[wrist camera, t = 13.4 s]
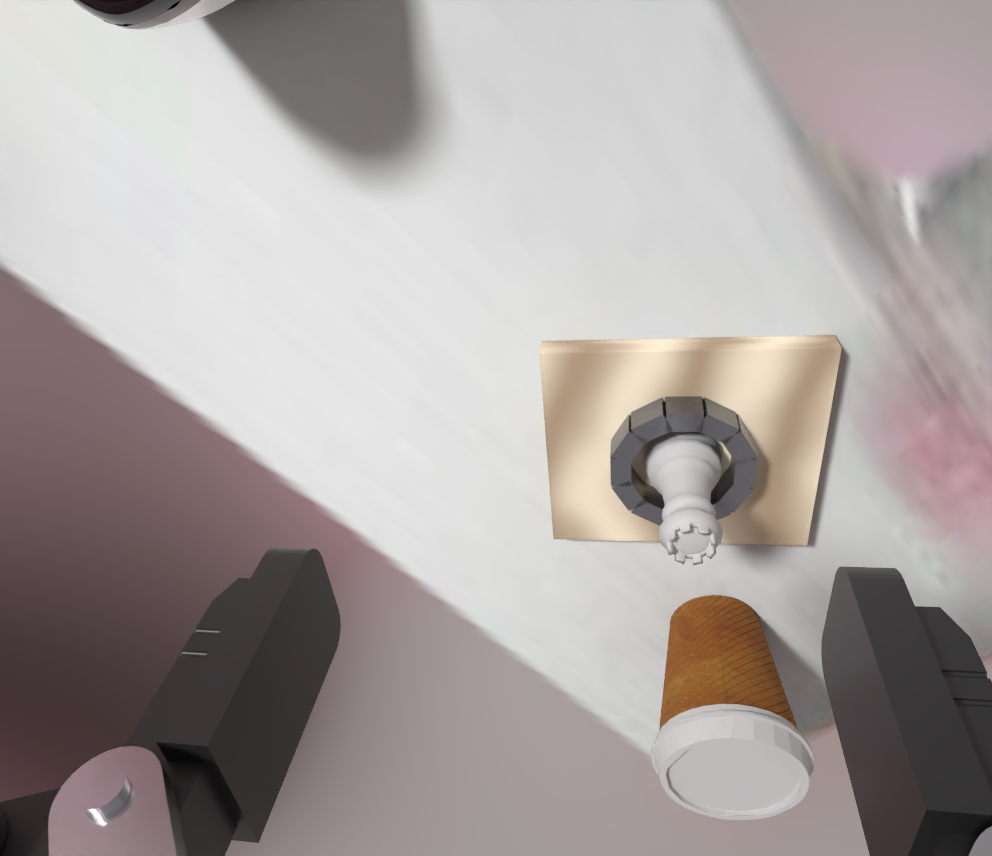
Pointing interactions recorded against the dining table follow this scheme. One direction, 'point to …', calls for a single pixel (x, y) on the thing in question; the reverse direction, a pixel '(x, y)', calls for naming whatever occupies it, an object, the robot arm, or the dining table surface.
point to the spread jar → (150, 11)
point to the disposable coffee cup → (727, 717)
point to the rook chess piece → (686, 492)
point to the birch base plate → (762, 408)
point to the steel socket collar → (682, 418)
